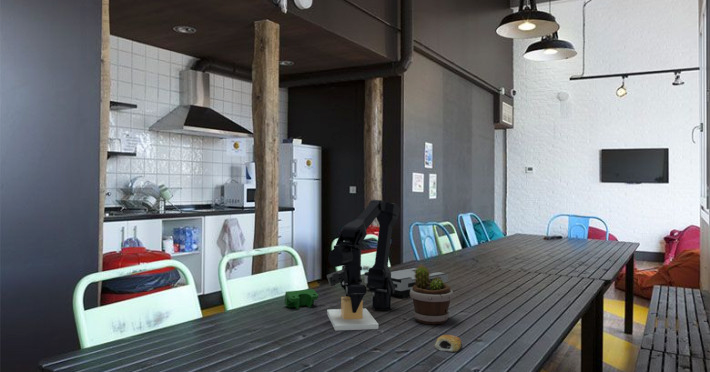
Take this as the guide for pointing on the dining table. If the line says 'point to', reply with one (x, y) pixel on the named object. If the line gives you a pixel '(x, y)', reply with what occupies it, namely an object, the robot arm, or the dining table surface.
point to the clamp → (300, 298)
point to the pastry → (448, 343)
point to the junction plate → (352, 321)
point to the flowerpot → (430, 298)
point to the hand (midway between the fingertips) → (351, 309)
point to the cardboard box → (350, 309)
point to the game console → (408, 280)
